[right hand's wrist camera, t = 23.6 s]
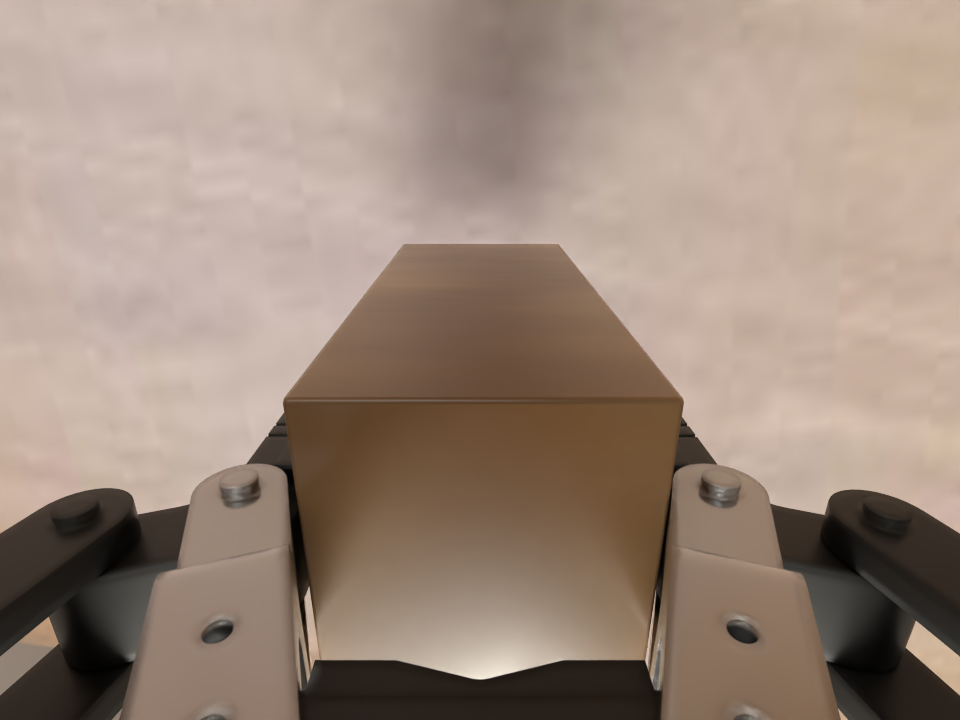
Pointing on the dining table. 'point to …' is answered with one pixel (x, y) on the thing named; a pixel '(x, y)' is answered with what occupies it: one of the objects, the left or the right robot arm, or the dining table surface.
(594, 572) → the brick
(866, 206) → the dining table surface
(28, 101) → the dining table surface
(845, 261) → the dining table surface
